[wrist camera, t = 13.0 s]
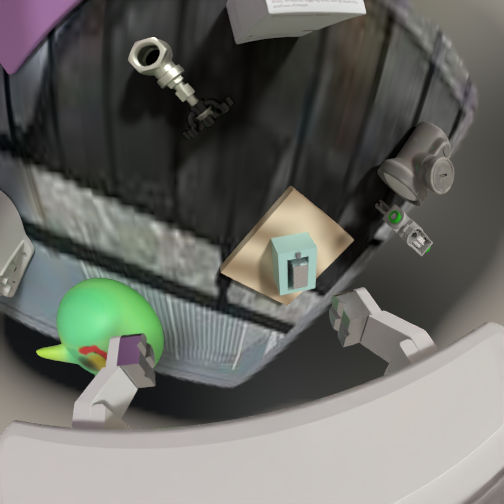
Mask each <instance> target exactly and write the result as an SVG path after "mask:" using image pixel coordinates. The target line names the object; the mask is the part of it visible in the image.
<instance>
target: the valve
mask: <svg viewBox="0 0 504 504" xmlns="http://www.w3.org/2000/svg"><path fill="white" fill-rule="evenodd" d="M153 50H160V55H159V58H158V60H157V61H156V62H155V63H154V64H152V65H150V66H148V65H147V64H146V58H147V56H148V54H149V53H150V52H152V51H153ZM172 57H173V55H172V50H171V48H170V46H169V45H168V44H167V43H166V42H164V41H162V40H159V39H156V38H155V37H152V38H148V39H144V40H141V41H138V42H135V43H134V45H133V48H132V50H131V52H130V55H129V58H128V61H129V62H130V63H131V64H132V65H133V66H134V67H135V69H136V70H137V71H138V72H139V73H141V74H144V75H154V76H155V77H156V78H157V79H158V81H157V83H158V84H159V85H160V87H161V88H165V87H166V86H169V87H170V89H172V88H174V89H175V90H176V91H177V92H176V93H175V94H176V95H177V96H178V97H179V98H180V99H181V100H182V102H184V101H185V100H186V101H187V102H188V103H189V104H190V105H191V107H190V108H189V109H188V110H189V111H190V113H189V114H188V116H187V124H188V127H189V128H190V129H188V130H184V131H183V132H182V133H181V134H182V135H183V136H184V137H185V139H186V140H188V139H190V138H194V137H196V136H197V135H198V134H199V133H200V131H201V130H202V129H203V128H204V127H207V128H208V127H210V126H211V125H212V124H214V123H215V119H216V118H217V117H218V116H220V115H221V114H222V115H223V114H225V113H226V112H228V111H229V110H230V106H231V105H233V104H234V103H235V102H234V100H233V99H232V98H231V97H230V96H227V97H226V98H225V100H226V101H227V102H225V101H223V99H221V100H219V101H218V100H216V99H207V100H204V99H203V98H202V99H200V100H198V99H197V98H196V97H195V96H194V94H193V93H195V91H194V90H193V88H192V87H191V86H190V85H189V84H188V83H187V84H185V83H184V82H183V77H182V76H181V74H182V73H183V72H184V69H183V68H182V67H181V66H180V65H175V64H174V63H173V62H172ZM209 104H212V105H214V106H215V107H214V108H213V109H212V110H211V107H210V106H209ZM193 116H194V117H195V118H196V119H198V118H199V120H198V121H197V122H195V121H192V118H193Z"/></svg>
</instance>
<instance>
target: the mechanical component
mask: <svg viewBox="0 0 504 504" xmlns="http://www.w3.org/2000/svg"><path fill="white" fill-rule="evenodd" d="M379 202H380V205H379V204H378V203H377V204H375V207H376V208H377V209H378V210H379V211H380V212H381V213H382V214H384V215H385V216H384V217H383V218H382V219H383V220H384V221H385V222H386V223H387V224H388V225H389V226H390V227H391V228H393V229H394V230H395V232H396V233H397V234H398V235H399V236H400V237H401V238H402V239H403V240H404V241H405V242H406V243H407V244H408V245H409V246H411V247H412V248H414V249H415V250H416V251H417V252H418V253H419V254H420V255H421V256H422V255H423V254H424V253H426V252H428V251H429V249H430V246H431V245H432V244H433V242H432V241H431V240H430V239H429V238H428V237H427V236H426V234H425V233H424V232H423V230H422V228H421V227H419V226H418V225H417V224H416V223H415V222H414V221H412V220H411V219H410V218H409V217H408V216H407V215H406V214H405V213H404V212H403V211H402V210H401V209H400V208H399V207H398V206H397V205H395V204H394V205H393V206H392V207H391V208H390V207H389V206H388V205H387V204H386V203H385V202H383V201H382V200H379ZM383 209H384V210H385V211H386V210H387V209H388V210H389V211H388V212H387V211H386V212H385V211H384V210H383Z"/></svg>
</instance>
